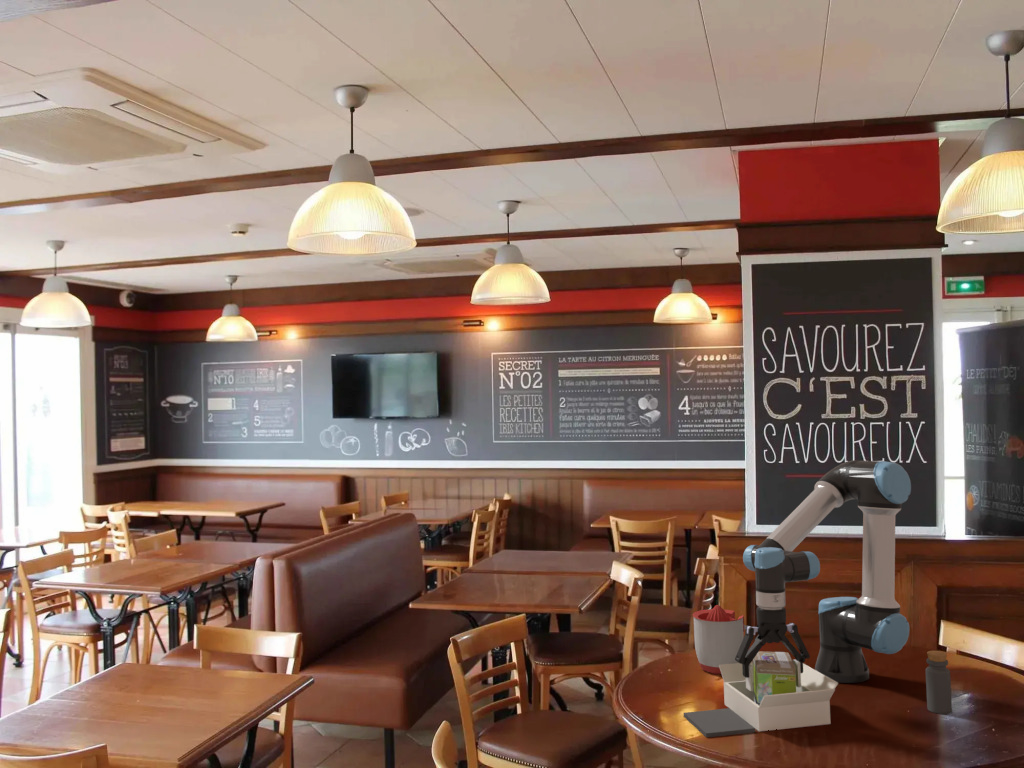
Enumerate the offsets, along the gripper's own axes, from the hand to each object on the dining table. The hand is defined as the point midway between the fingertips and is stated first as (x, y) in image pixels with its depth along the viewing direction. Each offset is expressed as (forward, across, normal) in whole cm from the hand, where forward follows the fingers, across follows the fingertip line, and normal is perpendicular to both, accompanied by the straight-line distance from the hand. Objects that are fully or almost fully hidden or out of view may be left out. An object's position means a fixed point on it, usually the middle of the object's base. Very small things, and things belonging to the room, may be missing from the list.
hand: (773, 687), depth 225 cm
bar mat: (+7, -17, -3) cm, 19 cm away
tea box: (+7, 0, 0) cm, 7 cm away
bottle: (+7, +42, -9) cm, 44 cm away
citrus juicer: (+7, +3, +40) cm, 41 cm away
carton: (+7, +2, 0) cm, 7 cm away
